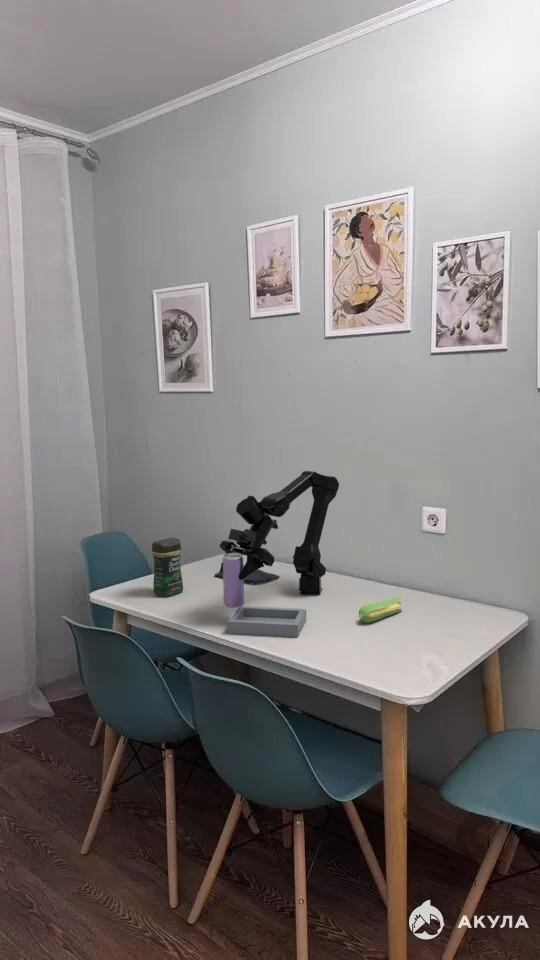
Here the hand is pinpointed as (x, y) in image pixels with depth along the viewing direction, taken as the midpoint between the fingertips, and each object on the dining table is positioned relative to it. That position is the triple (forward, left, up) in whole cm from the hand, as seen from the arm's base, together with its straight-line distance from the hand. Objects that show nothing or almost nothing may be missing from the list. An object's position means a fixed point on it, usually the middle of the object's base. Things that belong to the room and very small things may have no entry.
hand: (232, 577), depth 203 cm
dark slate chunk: (+8, -44, -14) cm, 47 cm away
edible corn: (-43, -10, -14) cm, 46 cm away
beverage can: (0, -1, -9) cm, 9 cm away
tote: (-11, +3, -13) cm, 18 cm away
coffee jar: (+29, -22, -13) cm, 39 cm away
